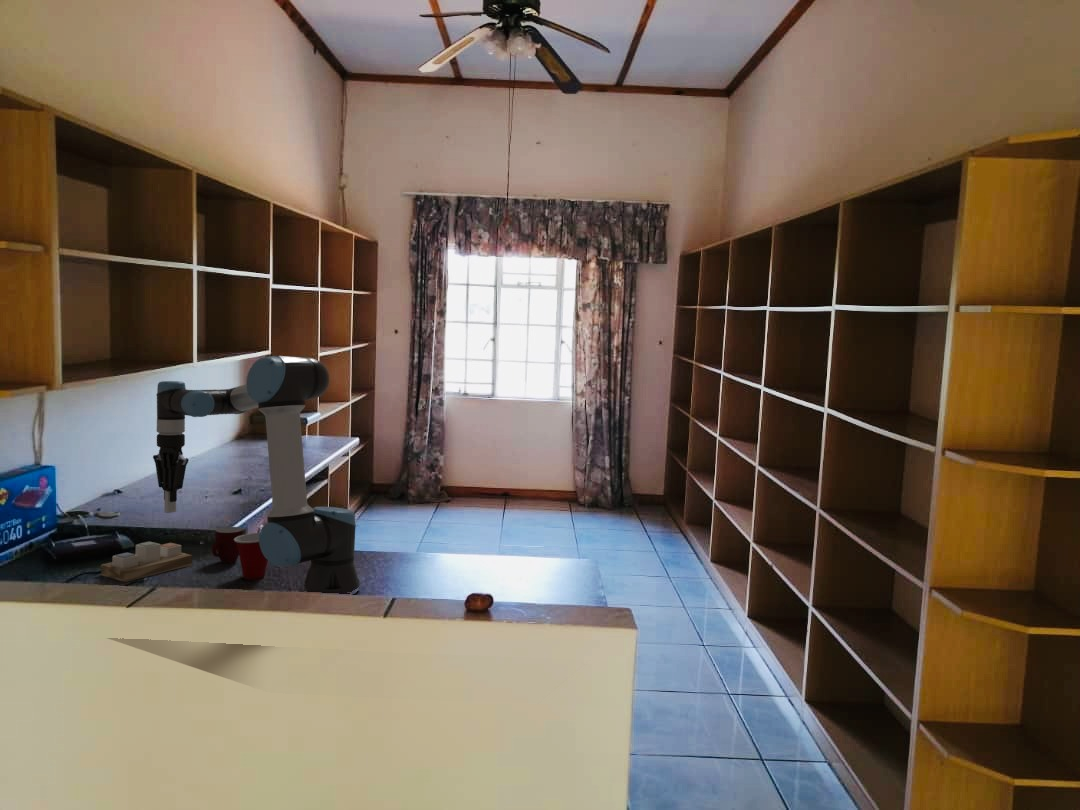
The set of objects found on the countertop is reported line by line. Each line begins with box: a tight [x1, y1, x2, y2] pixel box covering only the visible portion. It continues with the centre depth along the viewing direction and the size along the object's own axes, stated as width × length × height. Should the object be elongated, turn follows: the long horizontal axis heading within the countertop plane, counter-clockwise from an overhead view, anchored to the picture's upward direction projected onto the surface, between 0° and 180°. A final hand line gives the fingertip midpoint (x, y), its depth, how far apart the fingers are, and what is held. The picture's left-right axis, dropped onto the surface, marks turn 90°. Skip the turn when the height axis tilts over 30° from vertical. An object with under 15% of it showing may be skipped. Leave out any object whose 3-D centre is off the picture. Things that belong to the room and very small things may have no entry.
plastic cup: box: [234, 532, 269, 580], centre depth 221 cm, size 11×11×12 cm
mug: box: [211, 526, 245, 564], centre depth 233 cm, size 11×8×10 cm
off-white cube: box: [111, 552, 138, 569], centre depth 216 cm, size 5×5×5 cm
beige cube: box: [160, 542, 182, 558], centre depth 229 cm, size 5×5×5 cm
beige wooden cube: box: [135, 541, 161, 564], centre depth 223 cm, size 5×5×5 cm
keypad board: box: [100, 552, 193, 583], centre depth 223 cm, size 11×21×3 cm, turn 152°
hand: (170, 512), depth 228 cm, fingers closed
